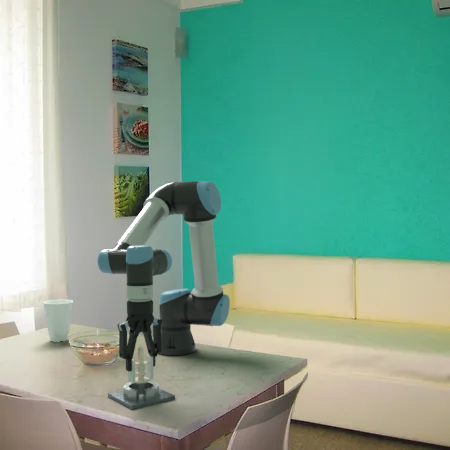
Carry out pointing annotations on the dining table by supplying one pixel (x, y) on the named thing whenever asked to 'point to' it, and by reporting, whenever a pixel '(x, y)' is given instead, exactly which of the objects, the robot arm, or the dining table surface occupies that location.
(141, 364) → the candle
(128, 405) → the ring stand
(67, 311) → the cup
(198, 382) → the dining table surface
